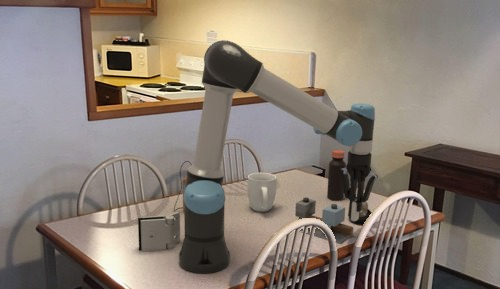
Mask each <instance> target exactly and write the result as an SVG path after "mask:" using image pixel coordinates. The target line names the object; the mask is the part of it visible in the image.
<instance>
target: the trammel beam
mask: <svg viewBox="0 0 500 289" xmlns="http://www.w3.org/2000/svg"><path fill="white" fill-rule="evenodd" d="M316 203H317V202H316V199H313V198H309V197H306V196H305V197H303V198H302V199H301V200H299V201H297V202H295V213H294V214H295V217H297V218H298V220H299V219H302V218H316V219H320V220H321V221H322V217H318V216H315V214H316V207H317V206H316V205H317V204H316ZM331 229H332V230H335V231H339V232H342V233H345V234H349V235H350V237H349V238H351V237H352V236H354V226H351V225H348V224H344V223H340V224H338V225H337V226H335V227H334V226H331Z"/></svg>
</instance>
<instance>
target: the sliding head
mask: <svg viewBox="0 0 500 289" xmlns="http://www.w3.org/2000/svg"><path fill="white" fill-rule="evenodd" d="M321 214H322V215H321V218H322V221H323V222H324V223H325V224H327V225H328V227H329V228H330V229H331V226H334V227H335V226H337V225H338V224H340V223H341V224H343V223H344V221H345V219H346V218H345V217H346V207H345V206H342V205H338V204H336V203H331V204H329V205H328V206H326V207H324V208H322V213H321Z"/></svg>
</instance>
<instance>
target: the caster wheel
mask: <svg viewBox="0 0 500 289" xmlns="http://www.w3.org/2000/svg"><path fill="white" fill-rule="evenodd" d="M355 200H357V196H356V199H355ZM349 206H350V201H349V203H348V207H349ZM351 211H352V210H350V209H349V208H348V213H347V216H348V220H349V221H350V222H351V223H353V224H354V225H356V226H364V225H363V224H364V222H365V221H366V219H367V218H368V217H369V215H370V214H371V213H372V214H373V212H372V211H371V210H370V209H369V204H368V202H367V201H366V202H362V210H361V211H360V212H359V218H358V220H356V221H351Z"/></svg>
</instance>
